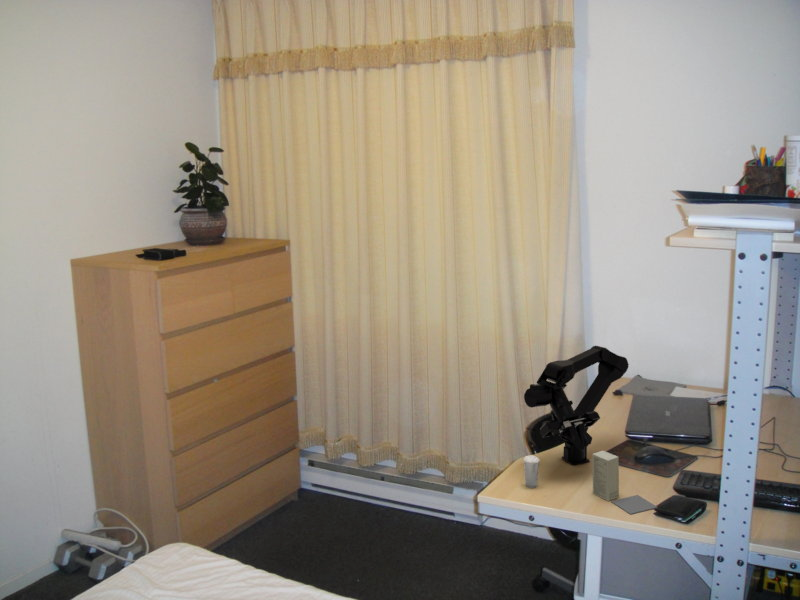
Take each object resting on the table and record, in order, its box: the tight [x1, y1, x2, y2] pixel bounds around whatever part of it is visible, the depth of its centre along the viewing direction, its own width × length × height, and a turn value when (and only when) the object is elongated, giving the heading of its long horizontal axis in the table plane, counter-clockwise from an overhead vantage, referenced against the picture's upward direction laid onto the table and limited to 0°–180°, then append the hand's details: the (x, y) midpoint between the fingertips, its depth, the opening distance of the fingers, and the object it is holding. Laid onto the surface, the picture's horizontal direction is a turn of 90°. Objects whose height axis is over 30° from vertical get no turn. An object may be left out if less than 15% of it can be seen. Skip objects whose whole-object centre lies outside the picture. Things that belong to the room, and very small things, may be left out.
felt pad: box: [610, 494, 658, 515], centre depth 191 cm, size 9×8×1 cm
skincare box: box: [591, 450, 620, 502], centre depth 196 cm, size 6×4×12 cm
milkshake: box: [523, 454, 543, 489], centre depth 204 cm, size 4×5×10 cm
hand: (582, 450), depth 204 cm, fingers closed
